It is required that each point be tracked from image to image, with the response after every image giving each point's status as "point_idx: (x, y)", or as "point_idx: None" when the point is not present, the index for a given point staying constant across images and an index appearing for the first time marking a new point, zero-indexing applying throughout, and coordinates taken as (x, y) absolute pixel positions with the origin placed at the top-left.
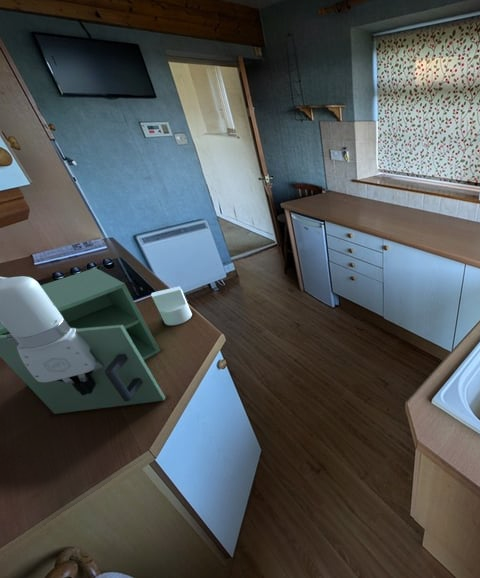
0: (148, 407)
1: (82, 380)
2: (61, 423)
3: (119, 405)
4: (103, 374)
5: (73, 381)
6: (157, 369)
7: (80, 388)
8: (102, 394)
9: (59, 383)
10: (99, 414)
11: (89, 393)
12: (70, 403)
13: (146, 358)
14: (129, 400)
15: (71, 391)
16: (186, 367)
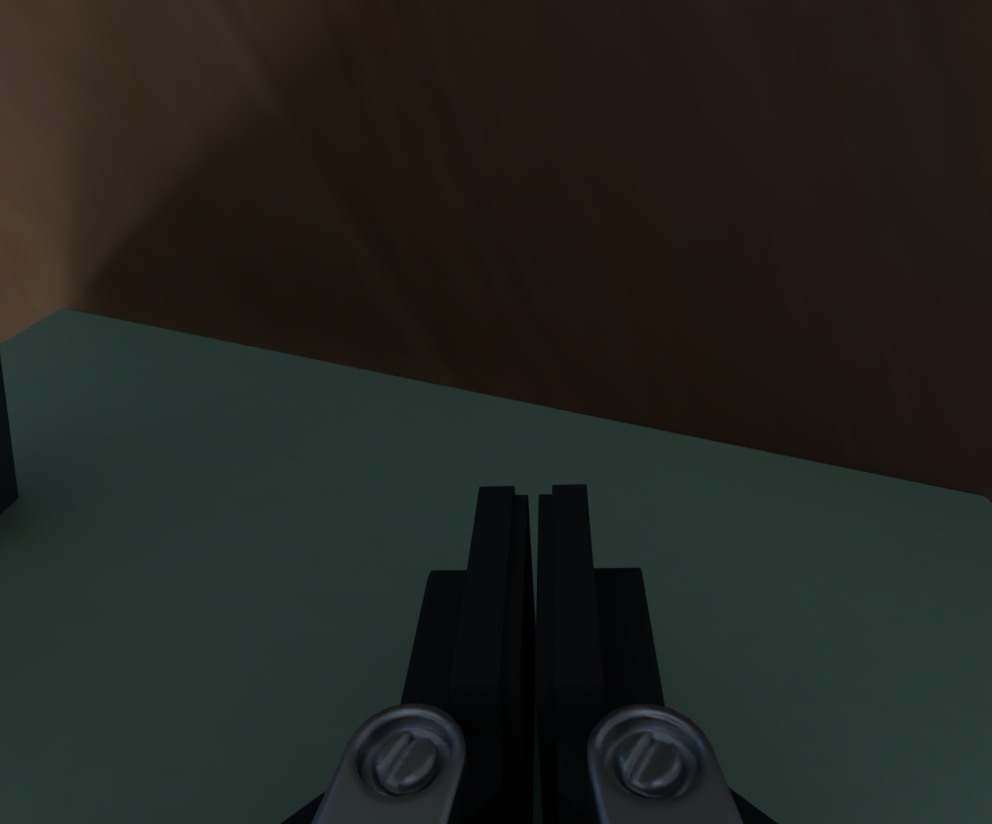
0: (183, 275)
1: (447, 739)
2: (910, 366)
3: (453, 390)
4: (252, 756)
5: (591, 772)
6: None
7: (552, 588)
8: None
9: (938, 798)
10: (609, 352)
11: (492, 486)
12: (846, 526)
13: None
14: (332, 392)
15: (811, 636)
16: None
